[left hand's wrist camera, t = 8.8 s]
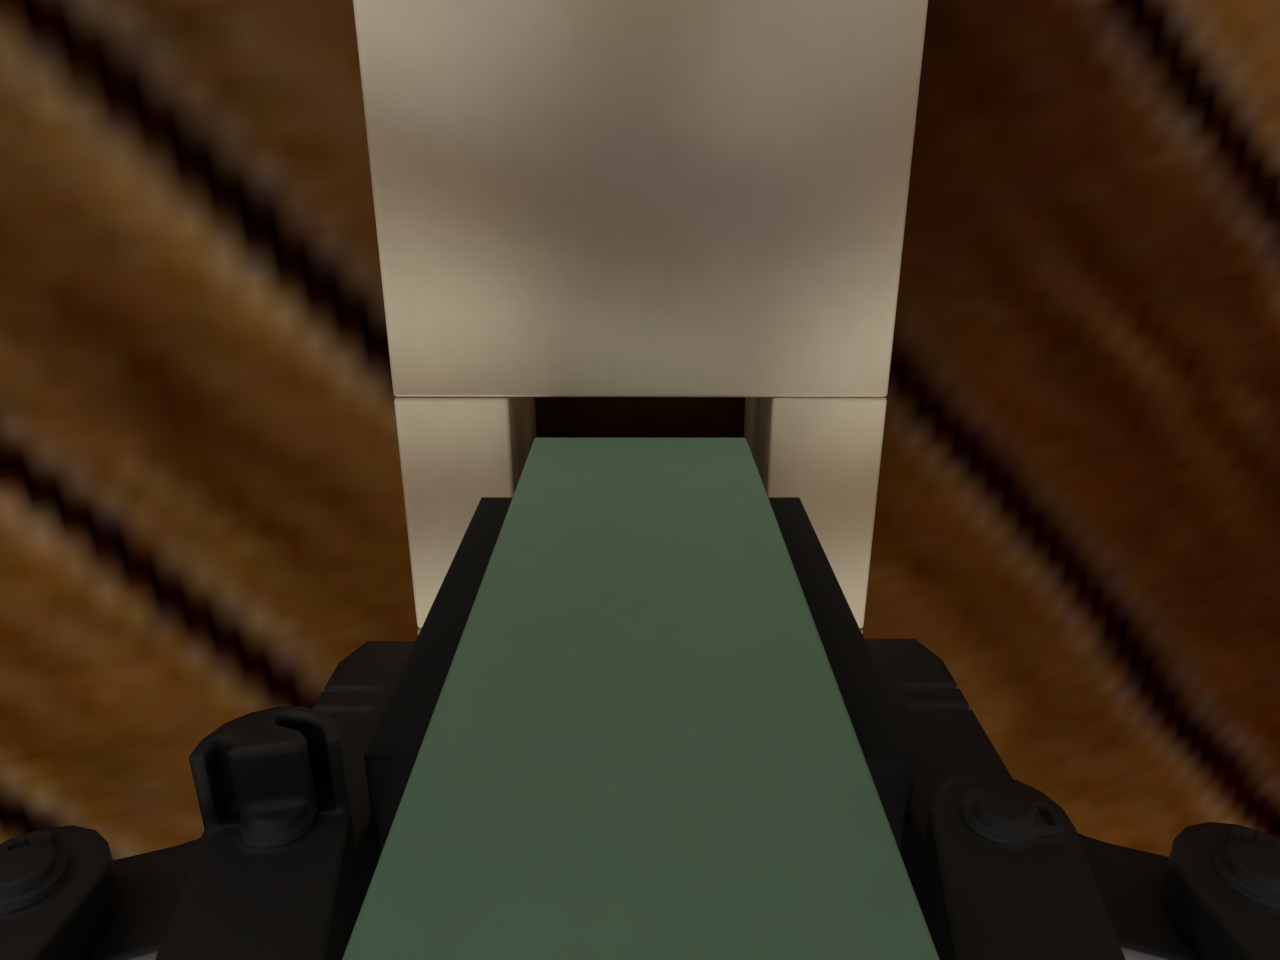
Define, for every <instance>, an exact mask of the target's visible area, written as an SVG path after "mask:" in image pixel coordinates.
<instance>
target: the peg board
mask: <svg viewBox="0 0 1280 960" xmlns="http://www.w3.org/2000/svg"><path fill="white" fill-rule="evenodd" d="M353 5H354V15H355V25H356V34H357V44H358V54H359V64H360V73H361V83H362V93H363V103H364V112H365V122H366V132H367V142H368V151H369V161H370V171H371V180H372V190H373V200H374V210H375V219H376V229H377V239H378V249H379V258H380V268H381V278H382V288H383V297H384V307H385V317H386V327H387V336H388V346H389V356H390V366H391V375H392V385H393V394H394V396H396V398H395V400H394V404H395V414H396V423H397V433H398V443H399V453H400V462H401V472H402V482H403V492H404V501H405V511H406V521H407V531H408V540H409V550H410V560H411V570H412V579H413V589H414V599H415V609H416V618H417V625H418V627H419V628H418V635H419V633H420V630H421V628H422V626H423V624H424V622H425V620H426V617H427V615H428V613H429V611H430V609H431V606H432V604H433V602H434V600H435V598H436V596H437V593H438V591H439V589H440V587H441V585H442V583H443V580H444V578H445V576H446V574H447V572H448V569H449V567H450V565H451V563H452V561H453V559H454V556H455V554H456V552H457V550H458V548H459V545H460V543H461V541H462V539H463V537H464V535H465V532H466V530H467V528H468V526H469V524H470V521H471V519H472V517H473V515H474V513H475V511H476V508H477V506H478V504H479V502H480V500H481V497H513V496H514V493H515V490H516V488H517V485H518V482H519V480H520V477H521V474H522V471H523V469H524V466H525V463H526V461H527V458H528V455H529V452H530V450H531V447H532V444H533V442H534V439H535V438H537V429H536V406H535V397H745V417H744V438H746V440H747V442H748V445H749V448H750V450H751V453H752V456H753V458H754V461H755V464H756V466H757V469H758V472H759V475H760V477H761V480H762V483H763V485H764V488H765V491H766V493H767V496H768V497H799V498H800V500H801V502H802V504H803V506H804V509H805V511H806V513H807V515H808V517H809V519H810V522H811V524H812V526H813V528H814V530H815V533H816V535H817V537H818V539H819V541H820V543H821V546H822V548H823V550H824V552H825V554H826V556H827V559H828V561H829V563H830V565H831V567H832V570H833V572H834V574H835V576H836V578H837V580H838V583H839V585H840V587H841V589H842V591H843V594H844V596H845V598H846V600H847V602H848V604H849V607H850V609H851V611H852V613H853V615H854V617H855V620H856V622H857V624H858V626H859V628H860V631H861V633H862V635H863V629H862V627H863V625H864V616H865V606H866V596H867V587H868V577H869V567H870V558H871V548H872V538H873V529H874V519H875V509H876V500H877V490H878V481H879V471H880V461H881V452H882V442H883V432H884V423H885V413H886V403H887V400H886V398H885V396H886V395H887V393H888V383H889V373H890V364H891V354H892V345H893V335H894V325H895V316H896V306H897V296H898V287H899V277H900V267H901V258H902V248H903V238H904V229H905V219H906V209H907V200H908V190H909V181H910V171H911V161H912V152H913V142H914V132H915V123H916V113H917V103H918V94H919V84H920V74H921V65H922V55H923V46H924V36H925V26H926V17H927V7H928V0H353Z"/></svg>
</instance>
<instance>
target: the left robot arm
mask: <svg viewBox="0 0 1280 960" xmlns="http://www.w3.org/2000/svg"><path fill="white" fill-rule="evenodd" d="M512 498H513V497H481V500H480V502H479V504H478V506H477V508H476V511H475V513H474V515H473V517H472V519H471V521H470V524H469V526H468V528H467V530H466V532H465V535H464V537H463V539H462V541H461V543H460V545H459V548H458V550H457V552H456V554H455V556H454V559H453V561H452V563H451V565H450V567H449V569H448V572H447V574H446V576H445V578H444V580H443V583H442V585H441V587H440V589H439V591H438V593H437V596H436V598H435V600H434V602H433V604H432V606H431V609H430V611H429V613H428V615H427V617H426V620H425V622H424V624H423V626H422V628H421V630H420V633H419V635H418V637H417V639H416V641H367V642H366V643H364V644H363V645H362V646H361V647H359V648H358V649H357V650H355V651H354V652H353V653H351V654H350V655H349V656H347V657H346V658H345V659H343V660H342V661H341V662H339V664H338V666H337V667H336V669H335V671H334V673H333V674H332V676H331V678H330V679H329V681H328V683H327V684H326V686H325V692H322V693H321V695H320V696H319V698H318V700H317V701H316V703H315V705H314V706H313V709H311V708H307V707H276V708H271V709H266V710H261V711H257V712H252V713H249V714H247V715H244V716H242V717H240V718H237V719H235V720H232V721H230V722H228V723H225V724H223V725H222V726H221V727H219V728H218V729H216V730H215V731H214V732H212V733H211V734H209V735H208V736H206V737H205V738H204V739H202V740H201V742H200V743H199V744H198V746H197V747H196V748H195V750H194V751H193V752H192V754H191V755H190V756H189V761H190V765H191V770H192V774H193V779H194V783H195V788H196V792H197V797H198V801H199V806H200V810H201V815H202V819H203V824H204V828H205V830H204V832H203V835H202V838H199V839H197V840H194V841H191V842H187V843H184V844H181V845H177V846H174V847H170V848H166V849H161V850H157V851H153V852H148V853H144V854H140V855H135V856H131V857H127V858H122V859H118V860H114V861H113V859H112V855H111V852H110V848H109V844H108V842H107V841H106V840H105V839H104V838H103V837H102V836H101V835H100V834H99V833H98V832H97V831H96V830H91V829H87V828H82V827H77V826H63V827H53V828H44V829H40V830H37V831H34V832H31V833H28V834H24V835H21V836H18V837H15V838H12V839H10V840H8V841H6V842H4V843H2V844H0V960H342V959H343V956H344V953H345V951H346V948H347V945H348V943H349V940H350V937H351V934H352V932H353V929H354V926H355V924H356V921H357V918H358V915H359V913H360V910H361V907H362V905H363V902H364V899H365V897H366V894H367V891H368V888H369V886H370V883H371V880H372V878H373V875H374V872H375V869H376V867H377V864H378V861H379V859H380V856H381V853H382V851H383V848H384V845H385V842H386V840H387V837H388V834H389V832H390V829H391V826H392V823H393V821H394V818H395V815H396V813H397V810H398V807H399V804H400V802H401V799H402V796H403V794H404V791H405V788H406V786H407V783H408V780H409V777H410V775H411V772H412V769H413V767H414V764H415V761H416V758H417V756H418V753H419V750H420V748H421V745H422V742H423V739H424V737H425V734H426V731H427V729H428V726H429V723H430V721H431V718H432V715H433V712H434V710H435V707H436V704H437V702H438V699H439V696H440V693H441V691H442V688H443V685H444V683H445V680H446V677H447V674H448V672H449V669H450V666H451V664H452V661H453V658H454V656H455V653H456V650H457V647H458V645H459V642H460V639H461V637H462V634H463V631H464V628H465V626H466V623H467V620H468V618H469V615H470V612H471V609H472V607H473V604H474V601H475V599H476V596H477V593H478V591H479V588H480V585H481V582H482V580H483V577H484V574H485V572H486V569H487V566H488V563H489V561H490V558H491V555H492V553H493V550H494V547H495V545H496V542H497V539H498V536H499V534H500V531H501V528H502V526H503V523H504V520H505V517H506V515H507V512H508V509H509V507H510V504H511V501H512ZM768 499H769V501H770V504H771V507H772V510H773V512H774V515H775V518H776V520H777V523H778V526H779V528H780V531H781V534H782V537H783V539H784V542H785V545H786V547H787V550H788V553H789V555H790V558H791V561H792V563H793V566H794V569H795V572H796V574H797V577H798V580H799V582H800V585H801V588H802V590H803V593H804V596H805V599H806V601H807V604H808V607H809V609H810V612H811V615H812V617H813V620H814V623H815V625H816V628H817V631H818V634H819V636H820V639H821V642H822V644H823V647H824V650H825V652H826V655H827V658H828V661H829V663H830V666H831V669H832V671H833V674H834V677H835V679H836V682H837V685H838V687H839V690H840V693H841V696H842V698H843V701H844V704H845V706H846V709H847V712H848V714H849V717H850V720H851V722H852V725H853V728H854V731H855V733H856V736H857V739H858V741H859V744H860V747H861V749H862V752H863V755H864V758H865V760H866V763H867V766H868V768H869V771H870V774H871V776H872V779H873V782H874V784H875V787H876V790H877V793H878V795H879V798H880V801H881V803H882V806H883V809H884V811H885V814H886V817H887V820H888V822H889V825H890V828H891V830H892V833H893V836H894V838H895V841H896V844H897V846H898V849H899V852H900V855H901V857H902V860H903V863H904V865H905V868H906V871H907V873H908V876H909V879H910V882H911V884H912V887H913V890H914V892H915V895H916V898H917V900H918V903H919V906H920V908H921V911H922V914H923V917H924V919H925V922H926V925H927V927H928V930H929V933H930V935H931V938H932V941H933V944H934V946H935V949H936V952H937V954H938V957H939V960H1280V839H1278V838H1276V837H1274V836H1272V835H1269V834H1266V833H1263V832H1260V831H1257V830H1253V829H1250V828H1247V827H1244V826H1241V825H1235V824H1224V823H1214V822H1207V823H1202V824H1197V825H1193V826H1188V827H1186V828H1185V829H1184V830H1183V831H1182V832H1181V833H1180V834H1179V835H1178V836H1177V837H1176V838H1175V839H1174V841H1173V845H1172V849H1171V852H1170V856H1169V857H1166V856H1161V855H1157V854H1153V853H1148V852H1144V851H1140V850H1135V849H1131V848H1126V847H1122V846H1118V845H1113V844H1109V843H1106V842H1102V841H1099V840H1096V839H1092V838H1089V837H1086V836H1083V835H1081V834H1079V833H1077V831H1076V828H1075V827H1074V825H1073V824H1072V822H1071V821H1070V819H1069V818H1068V816H1067V815H1066V813H1065V812H1064V810H1063V809H1062V808H1061V807H1060V806H1058V805H1057V804H1056V803H1055V802H1053V801H1052V800H1051V799H1050V798H1049V797H1047V796H1046V795H1045V794H1044V793H1042V792H1040V791H1038V790H1036V789H1034V788H1032V787H1030V786H1028V785H1026V784H1024V783H1022V782H1019V781H1017V780H1014V779H1012V777H1011V775H1010V774H1009V772H1008V770H1007V769H1006V767H1005V765H1004V764H1003V762H1002V760H1001V758H1000V757H999V755H998V753H997V752H996V750H995V748H994V747H993V745H992V743H991V742H990V740H989V738H988V737H987V735H986V733H985V731H984V730H983V728H982V726H981V725H980V723H979V721H978V720H977V718H976V716H975V715H974V713H973V711H972V710H969V705H968V703H967V701H966V699H965V698H964V696H963V694H962V693H961V691H960V689H957V687H956V685H957V684H956V683H955V681H954V679H953V678H952V676H951V674H950V672H949V671H948V669H947V667H946V666H945V664H944V662H943V661H942V659H940V658H939V657H938V656H936V655H935V654H934V653H932V652H931V651H930V650H928V649H927V648H926V647H924V646H923V645H922V644H920V643H919V642H918V641H916V640H915V639H864V637H863V635H862V633H861V631H860V628H859V626H858V624H857V622H856V620H855V617H854V615H853V613H852V611H851V609H850V607H849V604H848V602H847V600H846V598H845V596H844V594H843V591H842V589H841V587H840V585H839V583H838V580H837V578H836V576H835V574H834V572H833V570H832V567H831V565H830V563H829V561H828V559H827V556H826V554H825V552H824V550H823V548H822V546H821V543H820V541H819V539H818V537H817V535H816V533H815V530H814V528H813V526H812V524H811V522H810V519H809V517H808V515H807V513H806V511H805V509H804V506H803V504H802V502H801V500H800V498H799V497H768Z"/></svg>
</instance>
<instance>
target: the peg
mask: <svg viewBox="0 0 1280 960" xmlns="http://www.w3.org/2000/svg"><path fill="white" fill-rule="evenodd" d="M342 960H939V957H938V954H937V952H936V949H935V946H934V944H933V941H932V938H931V935H930V933H929V930H928V927H927V925H926V922H925V919H924V917H923V914H922V911H921V908H920V906H919V903H918V900H917V898H916V895H915V892H914V890H913V887H912V884H911V882H910V879H909V876H908V873H907V871H906V868H905V865H904V863H903V860H902V857H901V855H900V852H899V849H898V846H897V844H896V841H895V838H894V836H893V833H892V830H891V828H890V825H889V822H888V820H887V817H886V814H885V811H884V809H883V806H882V803H881V801H880V798H879V795H878V793H877V790H876V787H875V784H874V782H873V779H872V776H871V774H870V771H869V768H868V766H867V763H866V760H865V758H864V755H863V752H862V749H861V747H860V744H859V741H858V739H857V736H856V733H855V731H854V728H853V725H852V722H851V720H850V717H849V714H848V712H847V709H846V706H845V704H844V701H843V698H842V696H841V693H840V690H839V687H838V685H837V682H836V679H835V677H834V674H833V671H832V669H831V666H830V663H829V661H828V658H827V655H826V652H825V650H824V647H823V644H822V642H821V639H820V636H819V634H818V631H817V628H816V625H815V623H814V620H813V617H812V615H811V612H810V609H809V607H808V604H807V601H806V599H805V596H804V593H803V590H802V588H801V585H800V582H799V580H798V577H797V574H796V572H795V569H794V566H793V563H792V561H791V558H790V555H789V553H788V550H787V547H786V545H785V542H784V539H783V537H782V534H781V531H780V528H779V526H778V523H777V520H776V518H775V515H774V512H773V510H772V507H771V504H770V501H769V499H768V496H767V493H766V491H765V488H764V485H763V483H762V480H761V477H760V475H759V472H758V469H757V466H756V464H755V461H754V458H753V456H752V453H751V450H750V448H749V445H748V442H747V440H746V438H535V439H534V442H533V444H532V447H531V450H530V452H529V455H528V458H527V461H526V463H525V466H524V469H523V471H522V474H521V477H520V480H519V482H518V485H517V488H516V490H515V493H514V496H513V498H512V501H511V504H510V507H509V509H508V512H507V515H506V517H505V520H504V523H503V526H502V528H501V531H500V534H499V536H498V539H497V542H496V545H495V547H494V550H493V553H492V555H491V558H490V561H489V563H488V566H487V569H486V572H485V574H484V577H483V580H482V582H481V585H480V588H479V591H478V593H477V596H476V599H475V601H474V604H473V607H472V609H471V612H470V615H469V618H468V620H467V623H466V626H465V628H464V631H463V634H462V637H461V639H460V642H459V645H458V647H457V650H456V653H455V656H454V658H453V661H452V664H451V666H450V669H449V672H448V674H447V677H446V680H445V683H444V685H443V688H442V691H441V693H440V696H439V699H438V702H437V704H436V707H435V710H434V712H433V715H432V718H431V721H430V723H429V726H428V729H427V731H426V734H425V737H424V739H423V742H422V745H421V748H420V750H419V753H418V756H417V758H416V761H415V764H414V767H413V769H412V772H411V775H410V777H409V780H408V783H407V786H406V788H405V791H404V794H403V796H402V799H401V802H400V804H399V807H398V810H397V813H396V815H395V818H394V821H393V823H392V826H391V829H390V832H389V834H388V837H387V840H386V842H385V845H384V848H383V851H382V853H381V856H380V859H379V861H378V864H377V867H376V869H375V872H374V875H373V878H372V880H371V883H370V886H369V888H368V891H367V894H366V897H365V899H364V902H363V905H362V907H361V910H360V913H359V915H358V918H357V921H356V924H355V926H354V929H353V932H352V934H351V937H350V940H349V943H348V945H347V948H346V951H345V953H344V956H343V959H342Z"/></svg>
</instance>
